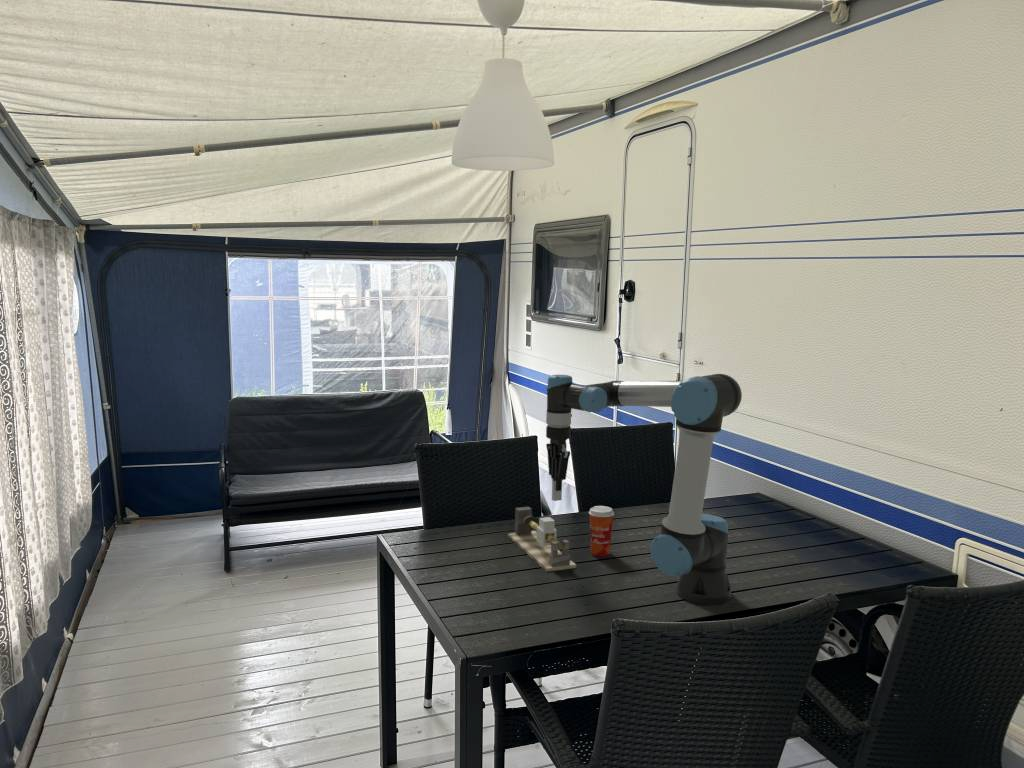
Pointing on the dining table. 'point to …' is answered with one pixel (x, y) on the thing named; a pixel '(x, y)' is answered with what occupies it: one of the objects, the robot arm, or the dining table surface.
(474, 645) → the dining table surface
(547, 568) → the cord rig
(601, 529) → the coffee cup
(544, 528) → the sleeve
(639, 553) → the dining table surface
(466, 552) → the dining table surface
